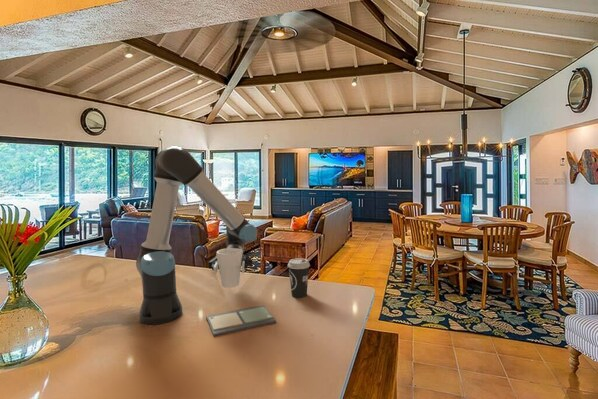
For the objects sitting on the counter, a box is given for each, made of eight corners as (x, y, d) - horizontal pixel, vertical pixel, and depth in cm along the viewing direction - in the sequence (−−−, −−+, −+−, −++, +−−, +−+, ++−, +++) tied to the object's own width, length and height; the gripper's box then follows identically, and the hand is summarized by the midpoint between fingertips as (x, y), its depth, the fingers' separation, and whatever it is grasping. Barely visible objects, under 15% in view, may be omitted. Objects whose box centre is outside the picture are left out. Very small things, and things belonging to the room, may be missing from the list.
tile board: (213, 336, 114) (213, 332, 114) (206, 318, 127) (206, 315, 127) (276, 322, 123) (276, 319, 123) (263, 307, 136) (262, 304, 136)
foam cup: (216, 282, 134) (214, 249, 132) (239, 279, 137) (238, 247, 136) (220, 290, 125) (219, 255, 124) (245, 286, 129) (244, 252, 127)
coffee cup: (301, 301, 142) (300, 265, 140) (283, 296, 147) (282, 261, 146) (314, 293, 149) (314, 259, 148) (297, 289, 155) (296, 256, 153)
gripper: (259, 261, 150) (259, 278, 128) (207, 264, 147) (198, 281, 125) (259, 244, 149) (259, 258, 127) (206, 246, 147) (197, 261, 124)
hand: (228, 270), depth 126 cm, fingers closed on foam cup, 9 cm apart
